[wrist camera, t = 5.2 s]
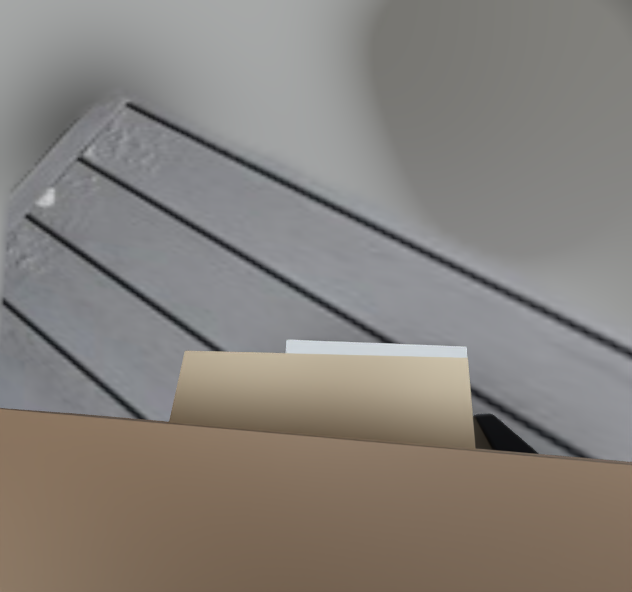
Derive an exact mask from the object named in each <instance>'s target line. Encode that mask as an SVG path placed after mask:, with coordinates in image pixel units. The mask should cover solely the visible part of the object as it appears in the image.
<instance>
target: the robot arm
mask: <svg viewBox="0 0 632 592" xmlns="http://www.w3.org/2000/svg"><path fill="white" fill-rule="evenodd" d="M473 425H474V436H475V448H476V449H487V450H498V451H510V452H521V453H533V454H539V453H537V452H536V451H535V450H534V449H533V448H532V447H530V446H529V445H528V444H527V443H526V442H525V441H523V440H522V439H521V438H520V437H519V436H518V435H516V434H515V433H514V432H513V431H512V430H511V429H509V428H508V427H507V426H506V425H505V424H504V423H503V422H501V421H500V420H499V419H498V418H497V417H496V416H494V415H493V414H476V415H474V416H473Z"/></svg>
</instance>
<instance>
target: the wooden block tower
mask: <svg viewBox="0 0 632 592" xmlns="http://www.w3.org/2000/svg"><path fill="white" fill-rule="evenodd" d="M0 592H632V462H624V461H613V460H602V459H590V458H579V457H567V456H556V455H544V454H533V453H521V452H510V451H498V450H487V449H476V448H475V436H474V425H473V413H472V402H471V390H470V379H469V367H468V358H454V357H414V356H374V355H334V354H294V353H254V352H214V351H185V353H184V357H183V362H182V366H181V371H180V375H179V380H178V384H177V389H176V393H175V398H174V402H173V407H172V411H171V416H170V420H169V422H165V421H154V420H142V419H131V418H119V417H108V416H96V415H85V414H72V413H58V412H45V411H32V410H18V409H5V408H0Z"/></svg>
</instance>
